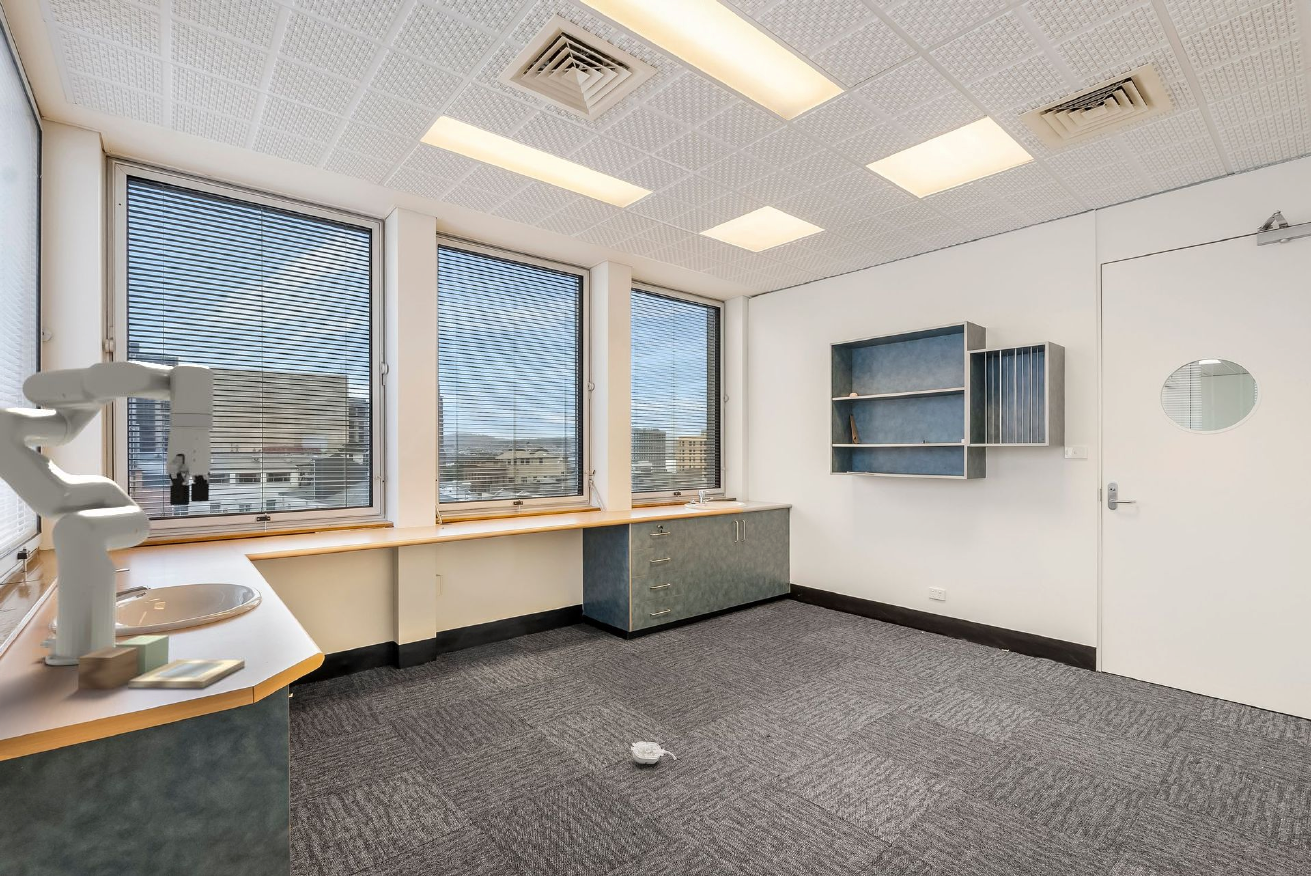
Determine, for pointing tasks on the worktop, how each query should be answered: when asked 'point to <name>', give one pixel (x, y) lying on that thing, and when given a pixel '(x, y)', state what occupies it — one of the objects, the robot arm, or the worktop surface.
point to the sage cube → (148, 651)
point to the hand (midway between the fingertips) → (190, 503)
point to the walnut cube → (107, 668)
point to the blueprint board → (187, 674)
